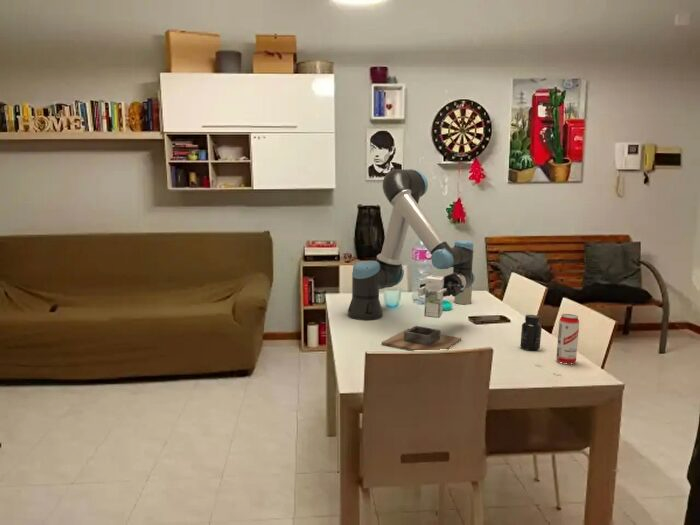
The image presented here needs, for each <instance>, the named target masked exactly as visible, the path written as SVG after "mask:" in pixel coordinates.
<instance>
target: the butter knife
mask: <svg viewBox="0 0 700 525" xmlns="http://www.w3.org/2000/svg"><path fill="white" fill-rule="evenodd" d="M535 366H536V367H537V368H540V367H541V368H540V369H542V367H543V366H542V365H540V364H535ZM553 374H554V375H553ZM553 374H552V375H553V376H555V375H556V373H553ZM561 374H562V373H560V374H557V375H556V377H558V376H561V377H563V376H562V375H563V374H562V375H561Z"/></svg>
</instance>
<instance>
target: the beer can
mask: <svg viewBox="0 0 700 525" xmlns="http://www.w3.org/2000/svg"><path fill="white" fill-rule="evenodd" d="M578 317H579V316H578V315H576V314H572V313H562V314H561V317H560V318H559V322H558V323H559V324H558V335H557V343H556V344H557V347H556V357H555V358H556V360H557V362H558V361H559V362H558V363H560V362H562V363H561V364H563V363H567V364H566V365H572V364H571V363H573V364H574V363H576V362H577V353H578V340H579V333H580V332H579V329H580V320H579V318H578Z"/></svg>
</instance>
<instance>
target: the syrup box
mask: <svg viewBox="0 0 700 525" xmlns="http://www.w3.org/2000/svg"><path fill="white" fill-rule="evenodd" d="M444 277H445V276H441V275H431V274H429V275H427V276H426V277H425V283H426V290H425V295H424V313H423V314H424V317H425V318H426V317H428V318H435V319H437V318H438V319H439V318H441V317H442V315H443V311H442V303H443V300H444V299H443V298H444V297H443V298H441V299H437V294H438V291H440V290H443V287H444Z"/></svg>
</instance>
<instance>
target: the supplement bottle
mask: <svg viewBox="0 0 700 525" xmlns="http://www.w3.org/2000/svg"><path fill="white" fill-rule="evenodd" d="M539 322H540V316H539V315H535V314H526V315H525V318H524V322H522V323H521V324H522V325H521V333H520V348H521V349H523V350H524V351H525V350H526V351H535V352H536V351H539V350H540V349H541V341H542V325H541V324H540V323H539Z"/></svg>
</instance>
